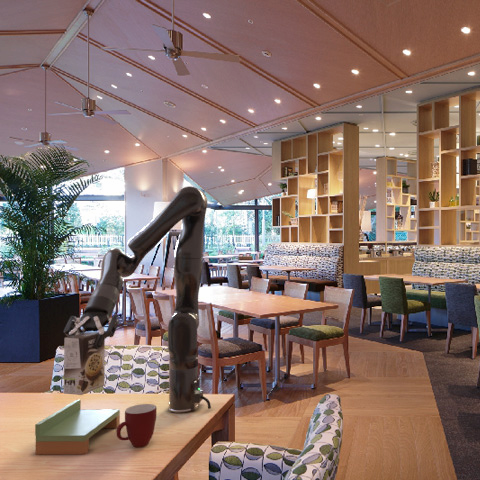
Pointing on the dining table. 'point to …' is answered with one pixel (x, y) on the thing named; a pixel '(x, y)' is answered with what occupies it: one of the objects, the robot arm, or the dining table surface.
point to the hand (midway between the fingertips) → (82, 348)
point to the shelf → (72, 429)
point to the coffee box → (83, 364)
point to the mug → (138, 424)
